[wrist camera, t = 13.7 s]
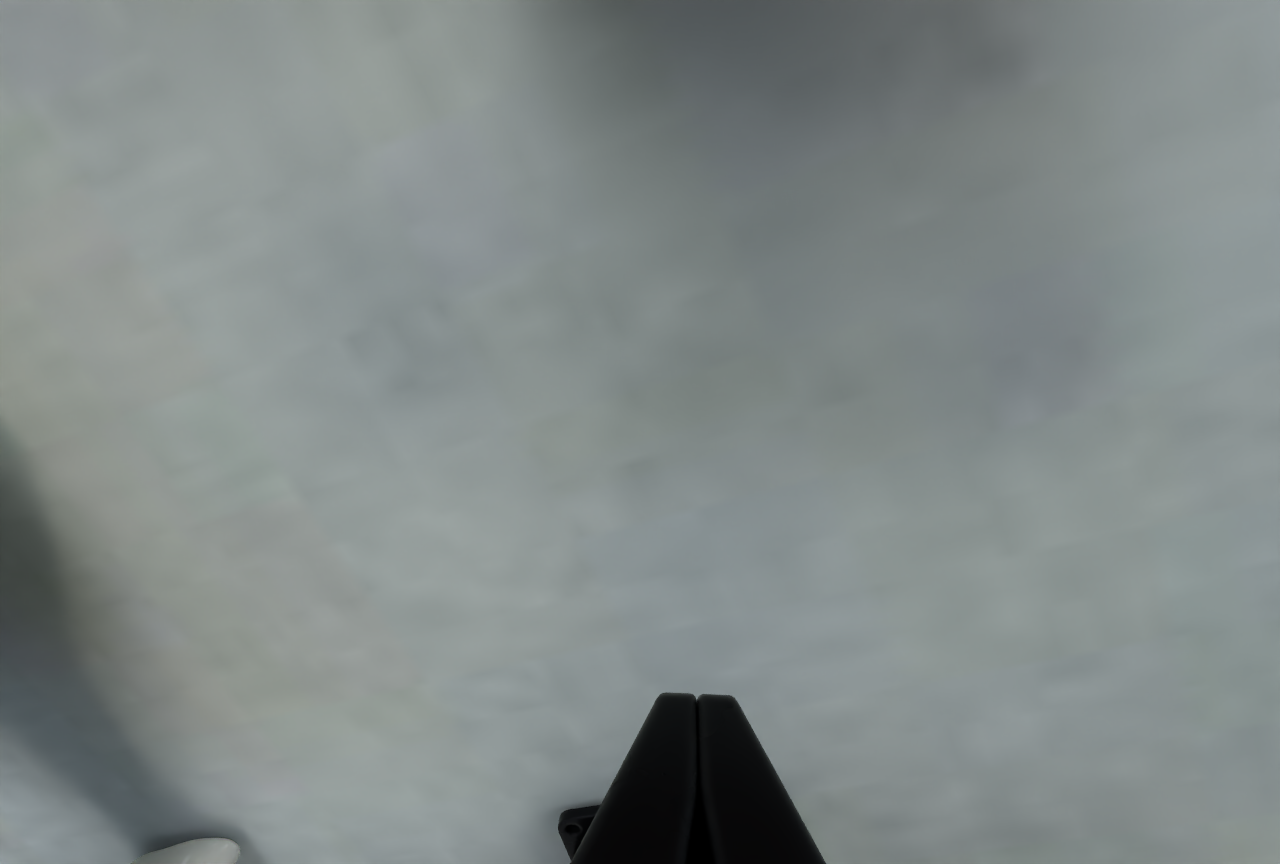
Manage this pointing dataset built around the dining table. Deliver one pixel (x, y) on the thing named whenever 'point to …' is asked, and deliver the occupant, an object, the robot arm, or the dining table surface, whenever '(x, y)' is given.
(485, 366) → the dining table surface
